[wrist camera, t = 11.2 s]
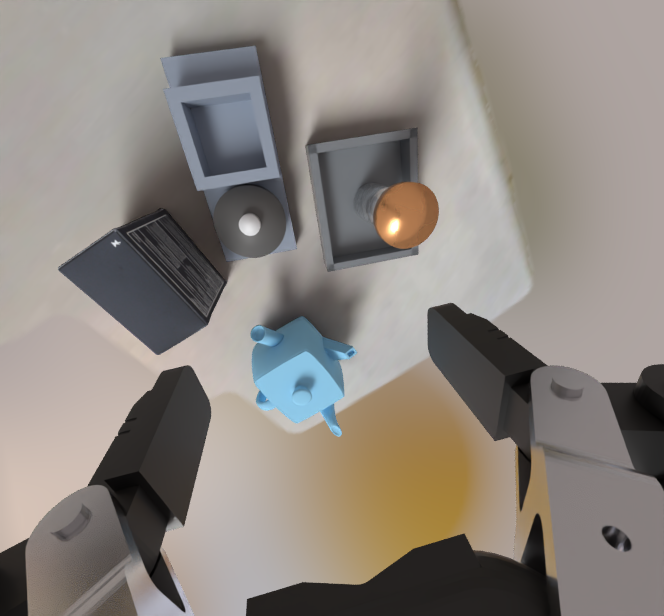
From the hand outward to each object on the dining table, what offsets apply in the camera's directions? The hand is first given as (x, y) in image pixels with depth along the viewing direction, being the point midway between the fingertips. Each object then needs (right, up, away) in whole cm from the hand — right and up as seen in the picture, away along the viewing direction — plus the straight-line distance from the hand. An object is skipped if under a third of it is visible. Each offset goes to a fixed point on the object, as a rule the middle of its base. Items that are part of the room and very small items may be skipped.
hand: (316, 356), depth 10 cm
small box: (-18, +7, +24) cm, 31 cm away
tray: (+4, +14, +24) cm, 28 cm away
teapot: (-4, -4, +32) cm, 32 cm away
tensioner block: (-9, +16, +21) cm, 28 cm away
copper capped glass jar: (+5, +14, +24) cm, 28 cm away
